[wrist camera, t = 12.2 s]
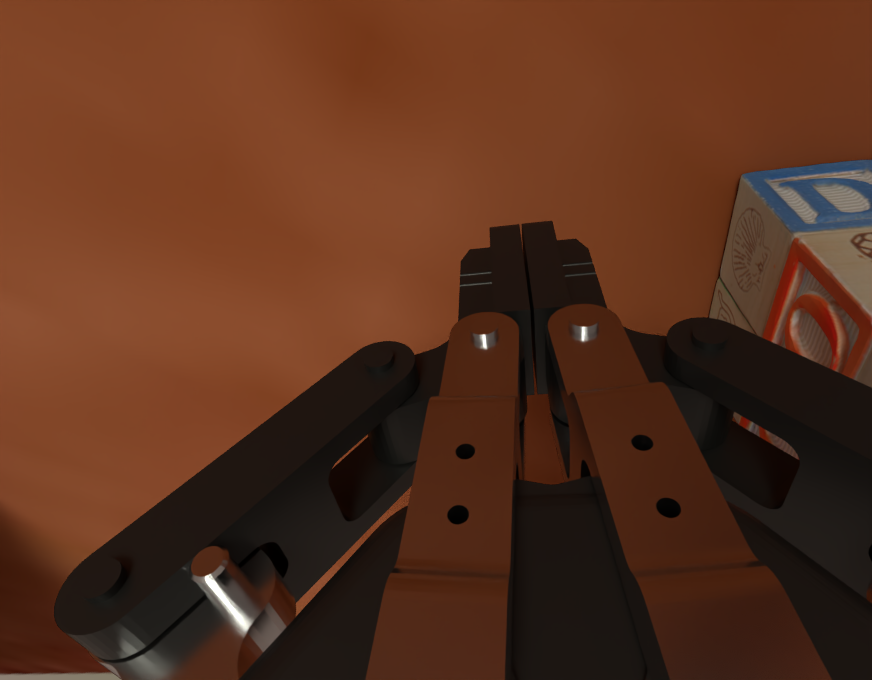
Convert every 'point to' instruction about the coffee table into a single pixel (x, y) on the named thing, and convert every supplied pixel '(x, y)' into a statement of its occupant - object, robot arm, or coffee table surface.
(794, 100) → the coffee table surface
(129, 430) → the coffee table surface
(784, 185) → the stack of blocks
